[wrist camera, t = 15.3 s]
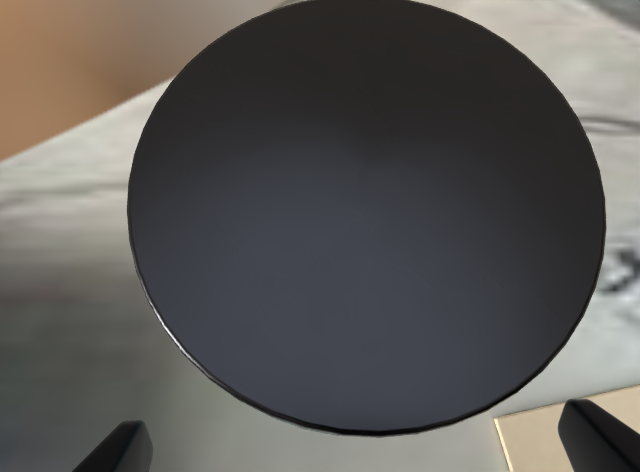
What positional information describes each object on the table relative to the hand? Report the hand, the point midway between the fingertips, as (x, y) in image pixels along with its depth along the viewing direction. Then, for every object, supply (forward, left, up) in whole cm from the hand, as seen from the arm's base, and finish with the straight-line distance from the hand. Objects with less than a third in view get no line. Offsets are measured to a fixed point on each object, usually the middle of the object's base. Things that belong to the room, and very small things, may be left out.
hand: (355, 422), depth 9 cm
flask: (+4, -1, -8) cm, 9 cm away
